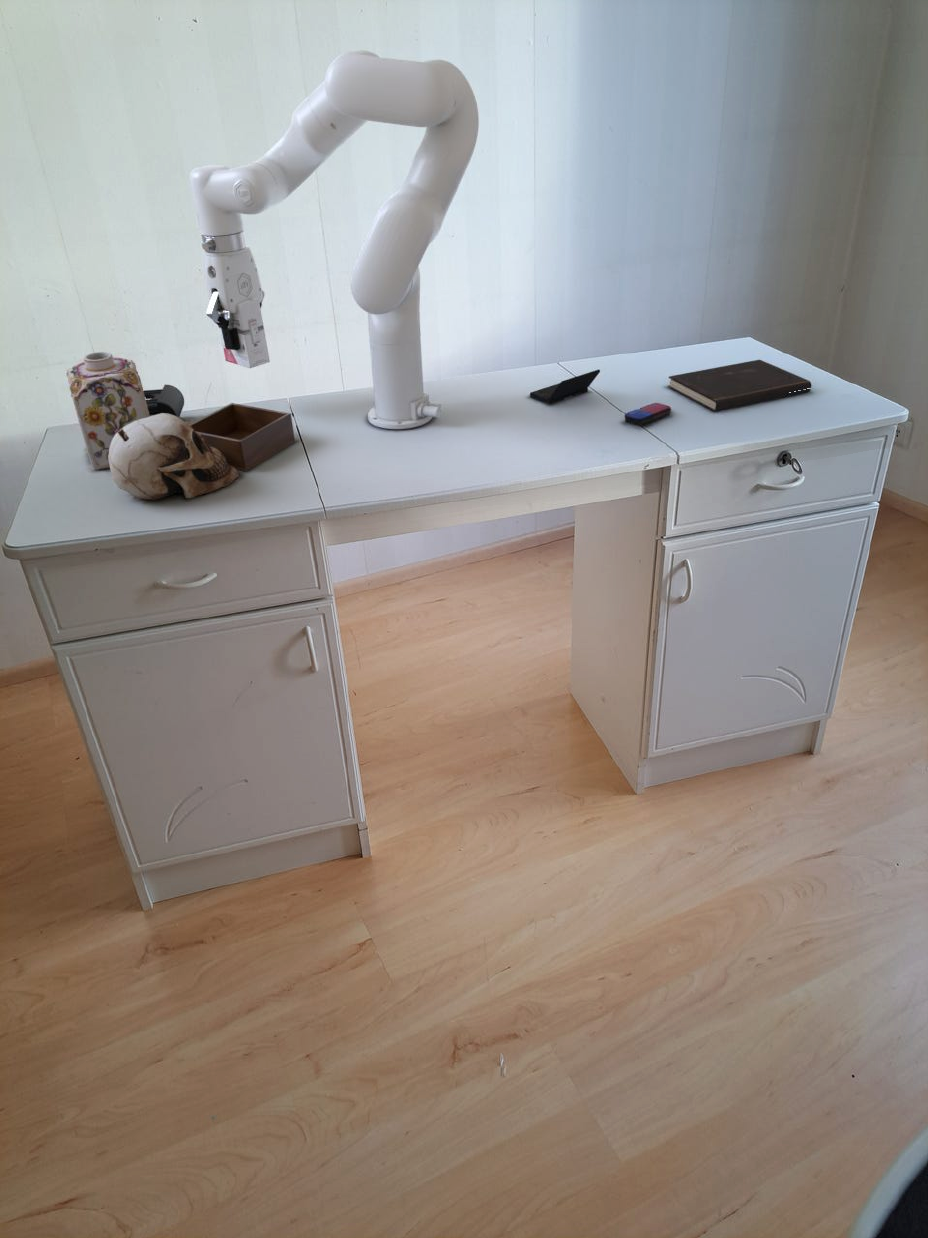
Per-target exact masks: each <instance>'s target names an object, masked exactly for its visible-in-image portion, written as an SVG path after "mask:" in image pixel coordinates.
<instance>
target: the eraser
mask: <svg viewBox="0 0 928 1238" xmlns="http://www.w3.org/2000/svg"><path fill="white" fill-rule="evenodd" d="M671 412H672V408H671V406H669V405H667V404H665V403H661V402H653V403H650V404H646V405H645V406H642V407H639V408H637V409H633V410H631V411H628V412H626V413H625V414H624V423H628V424H632V425H636V426H640V427H642V426H646V425H649V424H651V423H654V422H656V421H658V420H661V419H663V418H665V417H668V416H670V414H671Z"/></svg>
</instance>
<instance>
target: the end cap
mask: <svg viewBox="0 0 928 1238" xmlns="http://www.w3.org/2000/svg"><path fill="white" fill-rule="evenodd" d="M143 392H144V396H145V400H146V403H147V407H148V412H149V415H150V416H153V415H157V414H161V413H168V414H171V415H174V416H176V417H179V418H180V416H181V414H182V413H183V412H182V411H183V409H184V406H185V397H184V395H183V393H182V391H181V390H180V389H179V388H177V387H176V386H174V385H171V384H164V385H163V387H162V388H160V389H148V390H147V389H145V390H144V389H143Z"/></svg>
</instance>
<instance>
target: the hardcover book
mask: <svg viewBox="0 0 928 1238" xmlns="http://www.w3.org/2000/svg"><path fill="white" fill-rule="evenodd" d="M668 379H669V380H670V381H669V385H667V388H668V389H670V390H672V391H674V392H675V393H678V394H680V395H681V396H683V397H685V398H687V399H689V400H691V401H693V402H695V403H696V404H698V405H700V406H702V407H704V408H705V409H708V410H709V411H711V412H719V411H723V410H728V409H733V408H738V407H744V406H748V405H753V404H757V403H762V402H768V401H771V400H773V401H774V400H777V399H778V400H779V399H782V398H787V397H792V396H796V395H801V394H807V393H810V392H811V389H812V382H811V381H810V380H809V379H806V378H804V377H802V376H800V375H797V374H794V373H792V372H790V371H787V370H785V369H783V368H780V367H778V366H776V365H773V364H771V363H769V362H767V361H765V360H762V359H754V360H750V361H745V362H739V363H733V364H727V365H723V366H718V367H712V368H706V369H702V370H701V369H700V370H695V371H691V372H685V373H681V374H680V373H679V374H674V375H669V376H668ZM807 388H811V389H807ZM803 389H806V390H803ZM798 390H801V391H798ZM794 391H796V392H794ZM789 392H791V393H789Z"/></svg>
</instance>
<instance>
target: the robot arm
mask: <svg viewBox="0 0 928 1238" xmlns="http://www.w3.org/2000/svg"><path fill="white" fill-rule="evenodd" d="M479 119H480V118H479V108H478V102H477V100H476V96H475V93H474V90H473V89H472V87H471V85H470V83H469V81H468V79H467V77H466V76H465V74H463V72H462V71H461V70H460V69H459V68H458V67H457V66H456V65H455V64H453V63H452V62H450V61H447V60H444V59H429V60H426V61H425V60H424V61H416V60H407V59H397V58H388V57H387V58H386V57H380V56H379V55H378V54H376V53H375V52H372V51H369V50H364V49H363V50H354V51H346V52H344V53H341V54H339V55H338V56H336V58H334V59H333V60H332V62H331V63H330V64H329V66H328V67H327V70H326V73H325V77H324V80H323V81H322V82H321V83H320V84H319V85H318V86H317V87H316V88H315V89H314V90H313V91H312V92H311V93H310V94H309V95H307V97H306V98H304V100H303V101H302V102H301V103H300V104H298V105H297V107H296V108H295V109H294V111H293V112H292V114H291V123H290V125H289V127H288V129H287V130H286V132H284V134H283V135H282V136H281V138H279V140H278V141H276V142H275V144H274V145H273V146H272V147H271V148H270V149H269V150H267V152H265V154H263V155H262V156H261V157H260V158H259V159H257V160H254V161H252V162H249V163H245V164H244V165H241V166H237V167H233V168H230V167H229V166H227V165H222V164H215V165H214V164H211V165H203V166H198V167H195V168H193V169H192V170H191V171H190V173H189V183H190V187H191V192H192V197H193V202H194V206H195V211H196V216H197V219H198V220H197V221H198V226H199V230H200V235H201V240H202V243H201V247H202V249H203V250H204V254H205V255H204V257H203V258H204V272H205V281H206V282H205V283H206V288H207V294H208V299H209V304H208V307H207V309H206V316H207V317H208V318H209V319H211V321H213V323H215V324H216V325H217V327H218V328H221V329H222V334H223V339H224V344H225V348H226V349H230V350H239V349H240V343H239V338H238V333H237V329H236V328H234V314H233V313H237V305H239V304H241V303H243V302H245V301H247V300H249V299H251V298H257V299H258V300H259V303H260V309H261V310H262V306H263V301H264V298H265V294H266V293H265V292H264V290H263V289H262V285H261V280H260V276H259V271H258V268H257V264H256V261H255V258H254V255H253V253H252V250H251V247H249V246H247V240H246V234H245V228H244V222H243V218H242V217H243V216H242V215H259V214H262V213H263V212H265V211H268V210H269V209H271V208H272V207H275V206H277V205H279V204H281V203H282V202H283V201H284V200H285V199H287V198H288V197H289V196H291V194H292V193H293V192H295V191H296V190H297V189H298V188H299V187H300V186H301V185H303V183H304V182H305V181H306V180H308V179H309V178H310V176H312V175H313V174H314V172H316V170H317V169H319V167H321V166H322V165H323V164H324V163H325V162H327V160H329V158H330V157H331V156H332V155H333V154H334V153H335V152H336V151H337V150H338V149H340V148H341V147H342V146H343V145H344V144H345V143H346V142H347V141H348V140H349V139H350V138H351V137H352V136H353V135H354V134H355V133H356V132H357V131H359V129H360V128H361V127H363V126H364V125H365V124H366V123H367V122H368V121H369V122H374V123H382V124H391V125H399V126H405V127H406V126H407V127H413V128H426V129H425V131H424V135H423V137H422V140H421V142H420V143H419V145H418V147H417V149H416V152H415V153H414V154H415V155H414V156H413V159H412V161H411V164H410V166H409V168H408V171H407V173H406V175H405V177H404V179H403V181H402V183H401V185H400V187H399V189H397V191H395V192H394V193H393V194H392V195H391V196H389V197H388V198H387V199H385V201H384V202H383V203H382V205H381V206H380V208H379V210H378V211H377V212H376V215H375V217H374V219H373V221H372V224H371V226H370V228H369V231H368V233H367V235H366V238H365V240H364V242H363V244H362V247H361V249H360V251H359V254H358V256H357V258H356V261H355V263H354V265H353V268H352V271H351V274H350V280H349V288H350V292H351V295H352V298H353V300H354V301H355V303H356V305H357V306H358V307H359V308H360V309H362V310H363V311H364V312H366V313H367V327H368V340H369V341H368V342H369V351H370V352H369V353H370V363H371V364H370V365H371V376H372V386H373V399H374V406H373V407H372V408H370V410H369V411H368V413H367V420H368V422H369V423H370V424H371V425H372V426H375V427H378V428H381V429H387V430H406V429H413V428H417V427H421V426H423V425H426V424H427V423H429V422H430V421H431V420H432V419H433V418H437V419H438V418H440V417H441V416H442V415H441V414H442V405H441V403H437V402H431V401H430V394H429V393H427V392H426V393H425V392H424V390H425V389H424V376H423V375H424V374H423V373H424V372H423V358H422V357H423V355H422V337H421V336H422V334H421V333H422V332H421V304H420V303H421V302H420V301H421V271H420V267H419V266H420V264H421V262H422V259H423V257H424V255H425V254H426V251H427V249H428V248H429V246H430V244H431V243H433V241H434V240H435V239H436V238H437V236H438V235H439V233H440V231H441V228H442V226H443V223H444V220H445V218H446V216H447V213H448V211H449V209H450V207H451V204H452V202H453V200H454V198H455V196H456V194H457V192H458V189H459V187H460V184H461V182H462V180H463V177H464V175H465V173H466V171H467V168H468V167H469V165H470V162H471V159H472V157H473V155H474V151H475V148H476V144H477V141H478V135H479V125H480V123H479V121H480V120H479ZM224 309H225V310H224ZM225 314H228V318H227V320H226V319H225Z"/></svg>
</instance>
